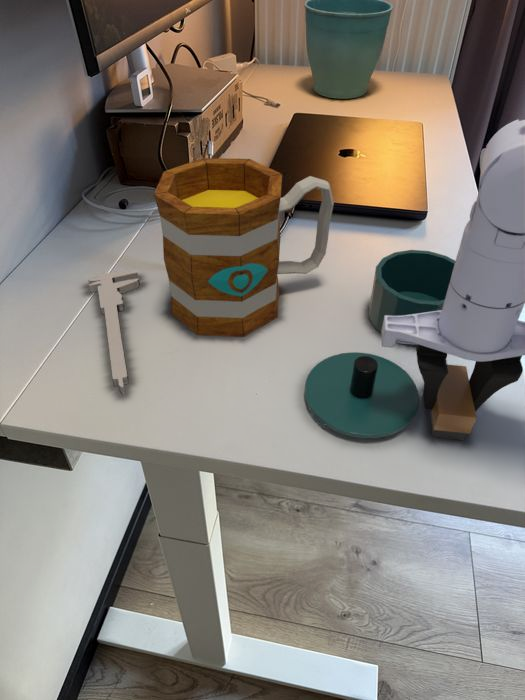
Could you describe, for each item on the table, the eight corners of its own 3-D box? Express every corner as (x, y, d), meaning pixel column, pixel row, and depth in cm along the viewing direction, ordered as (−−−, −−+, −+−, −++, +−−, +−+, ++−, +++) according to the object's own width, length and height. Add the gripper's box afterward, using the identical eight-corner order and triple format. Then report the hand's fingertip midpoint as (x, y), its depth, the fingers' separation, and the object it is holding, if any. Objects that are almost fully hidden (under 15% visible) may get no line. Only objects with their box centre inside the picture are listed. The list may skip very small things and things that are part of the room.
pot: (453, 294, 66) (465, 253, 62) (464, 351, 58) (479, 308, 54) (368, 288, 67) (375, 247, 63) (369, 342, 59) (376, 299, 55)
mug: (184, 350, 59) (167, 226, 48) (159, 281, 68) (141, 166, 58) (348, 312, 63) (364, 193, 53) (304, 253, 73) (310, 142, 63)
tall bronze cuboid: (457, 391, 54) (466, 366, 52) (466, 442, 49) (476, 417, 47) (424, 388, 54) (432, 362, 52) (430, 439, 50) (438, 413, 47)
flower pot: (380, 81, 128) (392, -4, 116) (381, 107, 115) (394, 14, 103) (304, 77, 130) (308, -6, 119) (296, 102, 117) (300, 11, 105)
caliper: (141, 277, 69) (91, 280, 68) (140, 270, 68) (89, 273, 68) (127, 393, 54) (63, 398, 53) (125, 386, 53) (60, 391, 53)
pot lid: (413, 364, 57) (421, 330, 54) (421, 448, 49) (432, 414, 46) (308, 355, 58) (311, 321, 55) (299, 435, 50) (302, 401, 47)
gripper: (572, 264, 44) (519, 381, 53) (391, 251, 45) (370, 367, 54) (600, 318, 39) (536, 438, 48) (394, 302, 40) (370, 420, 49)
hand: (448, 404), depth 51 cm, fingers closed on tall bronze cuboid, 3 cm apart
